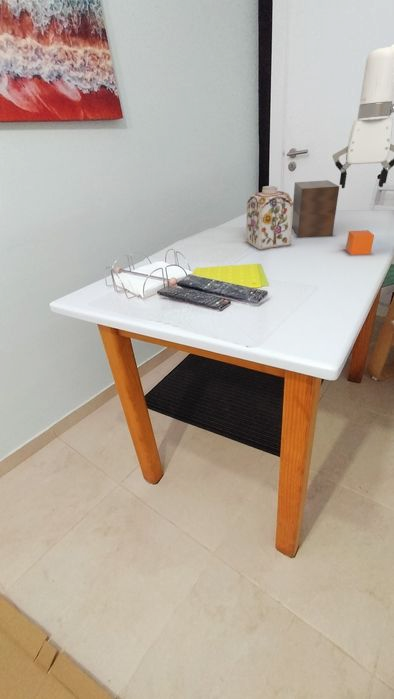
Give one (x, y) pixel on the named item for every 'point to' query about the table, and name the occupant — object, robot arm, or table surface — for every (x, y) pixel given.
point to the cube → (359, 242)
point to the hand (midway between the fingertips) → (361, 187)
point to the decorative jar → (269, 218)
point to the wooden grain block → (314, 208)
